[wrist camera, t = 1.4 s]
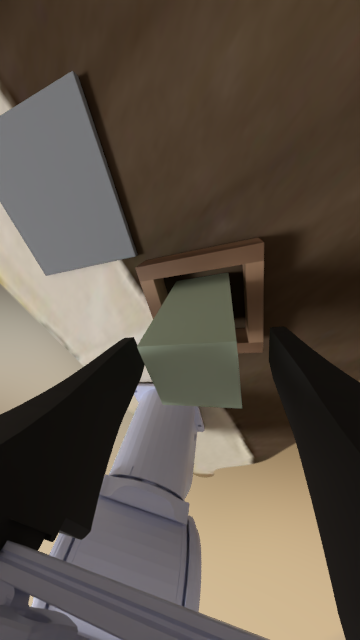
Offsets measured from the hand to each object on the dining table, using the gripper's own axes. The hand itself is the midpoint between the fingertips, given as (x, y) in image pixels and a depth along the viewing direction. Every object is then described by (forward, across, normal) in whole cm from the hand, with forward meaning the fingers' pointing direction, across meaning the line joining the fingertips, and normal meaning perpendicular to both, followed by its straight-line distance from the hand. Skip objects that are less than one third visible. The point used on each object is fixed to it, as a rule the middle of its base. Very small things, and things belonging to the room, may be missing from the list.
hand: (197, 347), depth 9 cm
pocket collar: (+6, 0, 0) cm, 6 cm away
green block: (+6, 0, 0) cm, 6 cm away
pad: (+6, +9, -9) cm, 14 cm away
